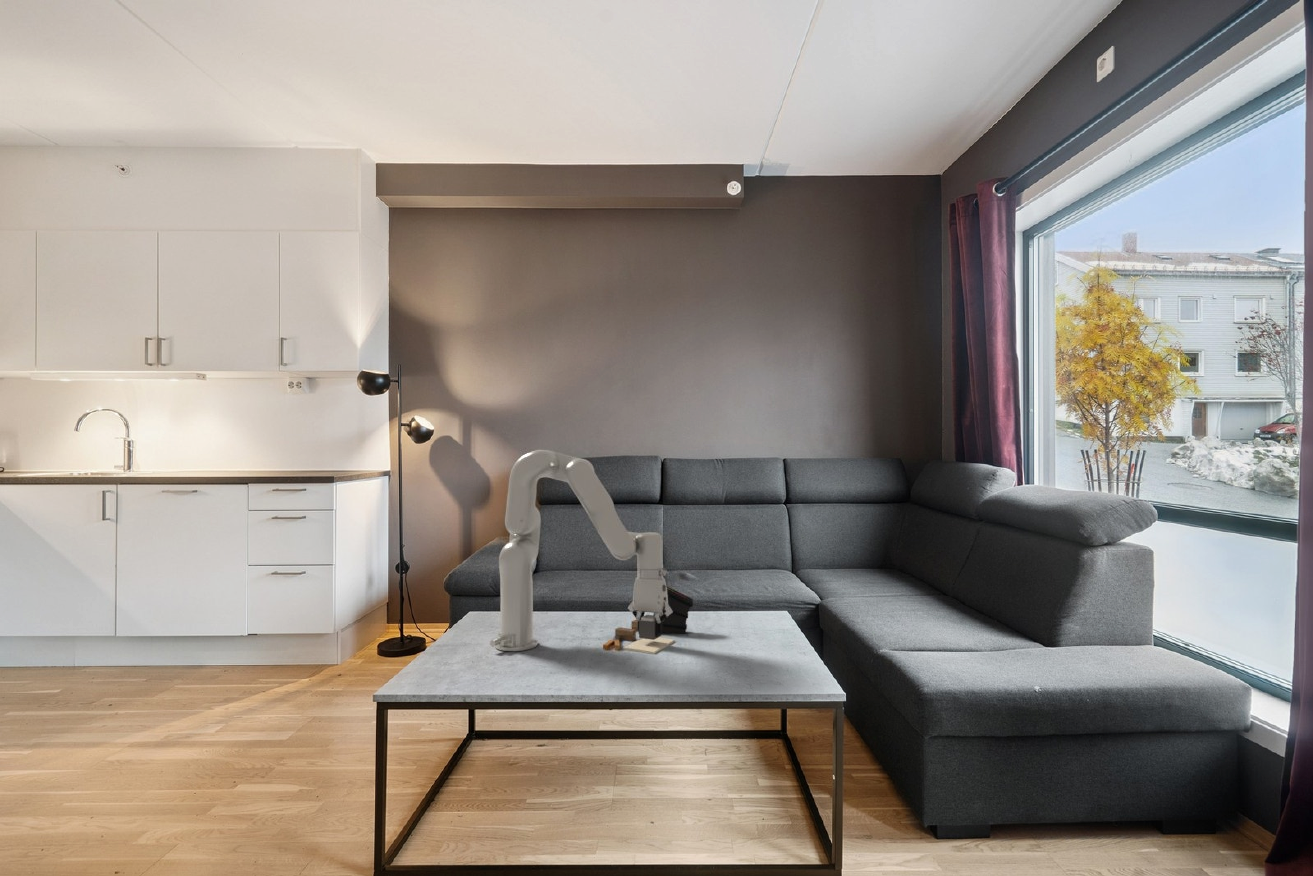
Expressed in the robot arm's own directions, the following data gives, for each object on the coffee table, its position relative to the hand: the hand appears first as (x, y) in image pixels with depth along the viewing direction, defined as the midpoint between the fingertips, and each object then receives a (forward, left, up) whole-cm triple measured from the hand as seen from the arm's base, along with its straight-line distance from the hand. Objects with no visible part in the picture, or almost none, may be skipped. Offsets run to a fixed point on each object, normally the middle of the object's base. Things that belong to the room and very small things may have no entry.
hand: (650, 633), depth 196 cm
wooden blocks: (+8, +10, -4) cm, 13 cm away
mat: (0, 0, -4) cm, 4 cm away
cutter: (-4, +10, -4) cm, 11 cm away
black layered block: (+16, 0, -4) cm, 16 cm away
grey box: (0, 0, -1) cm, 1 cm away
